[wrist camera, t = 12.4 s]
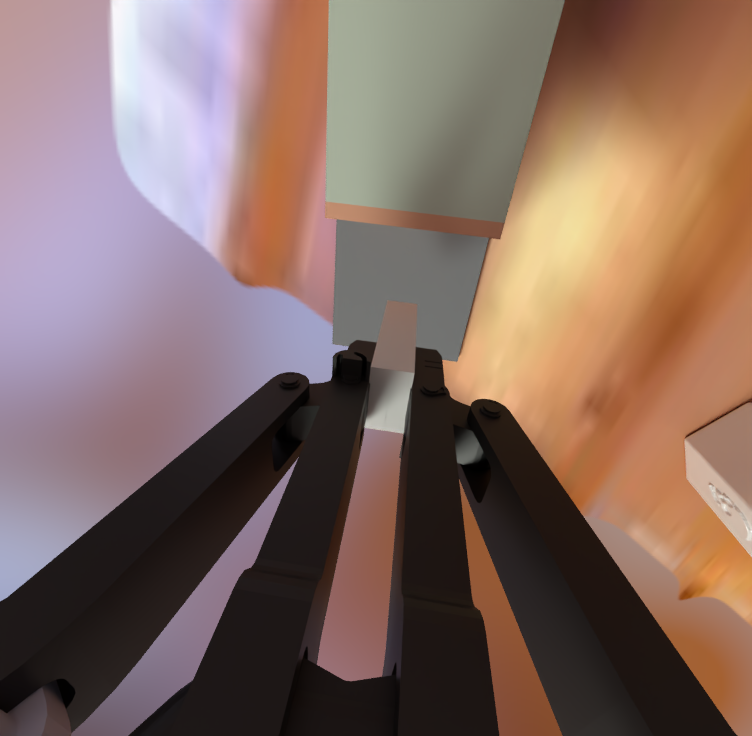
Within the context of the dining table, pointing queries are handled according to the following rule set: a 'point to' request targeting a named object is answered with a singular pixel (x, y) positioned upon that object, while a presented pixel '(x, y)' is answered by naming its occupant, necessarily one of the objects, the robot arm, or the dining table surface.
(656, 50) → the dining table surface
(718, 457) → the jar
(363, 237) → the mat
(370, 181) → the block
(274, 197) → the dining table surface
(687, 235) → the dining table surface
